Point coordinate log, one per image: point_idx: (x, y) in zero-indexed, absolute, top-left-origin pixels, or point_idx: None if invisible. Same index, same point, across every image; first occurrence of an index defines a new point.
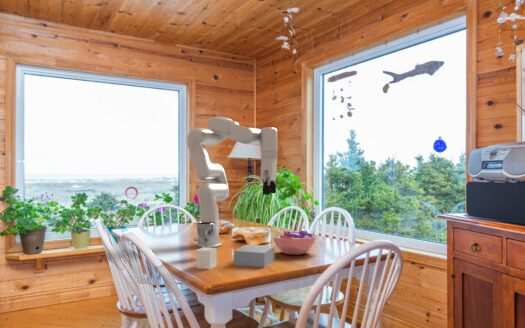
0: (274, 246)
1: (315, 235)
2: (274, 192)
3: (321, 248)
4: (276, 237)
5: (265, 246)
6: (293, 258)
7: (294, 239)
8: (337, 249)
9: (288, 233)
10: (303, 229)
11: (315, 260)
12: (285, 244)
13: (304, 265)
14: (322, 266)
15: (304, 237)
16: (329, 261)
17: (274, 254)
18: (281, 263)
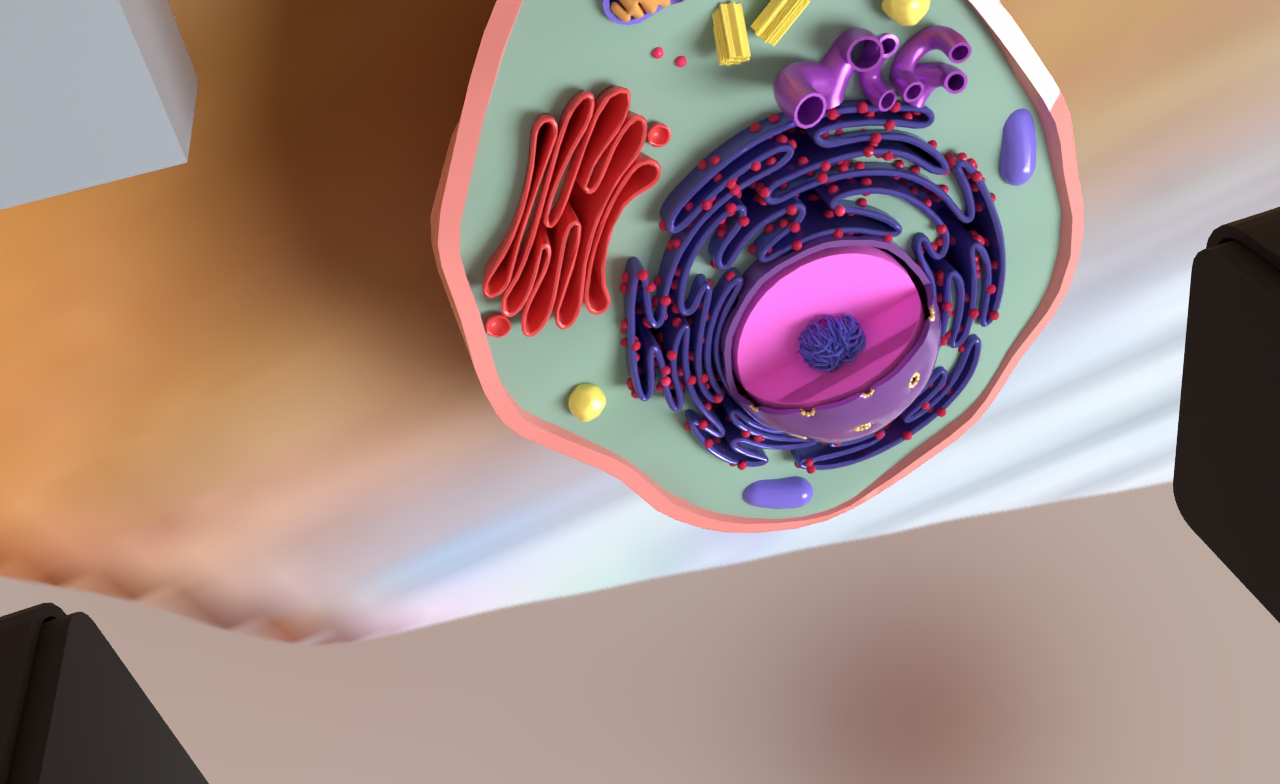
0: (186, 162)
1: (901, 471)
2: (1185, 493)
3: (1099, 264)
4: (496, 60)
5: (68, 32)
6: (429, 251)
7: (487, 396)
8: (1083, 423)
9: (864, 109)
10: (848, 425)
11: (476, 486)
12: (435, 226)
13: (193, 507)
14: (277, 640)
15: (695, 434)
16: (511, 597)
17: (190, 111)
18: (85, 265)
